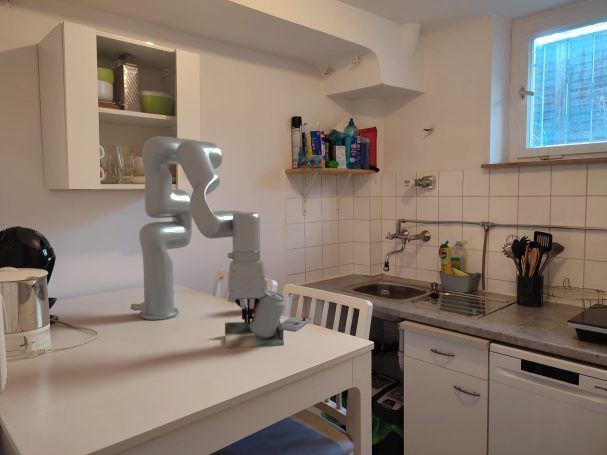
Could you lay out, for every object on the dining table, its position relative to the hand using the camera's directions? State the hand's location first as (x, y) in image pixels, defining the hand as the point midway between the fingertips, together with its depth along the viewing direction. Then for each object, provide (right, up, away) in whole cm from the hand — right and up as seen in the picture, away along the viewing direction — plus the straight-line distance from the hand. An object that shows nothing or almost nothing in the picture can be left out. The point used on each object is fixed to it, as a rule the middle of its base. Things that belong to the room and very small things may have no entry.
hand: (247, 321), depth 125 cm
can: (+4, -4, +1) cm, 5 cm away
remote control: (+13, -5, +17) cm, 22 cm away
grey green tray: (+2, -6, +2) cm, 6 cm away
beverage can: (-1, -3, +32) cm, 33 cm away
